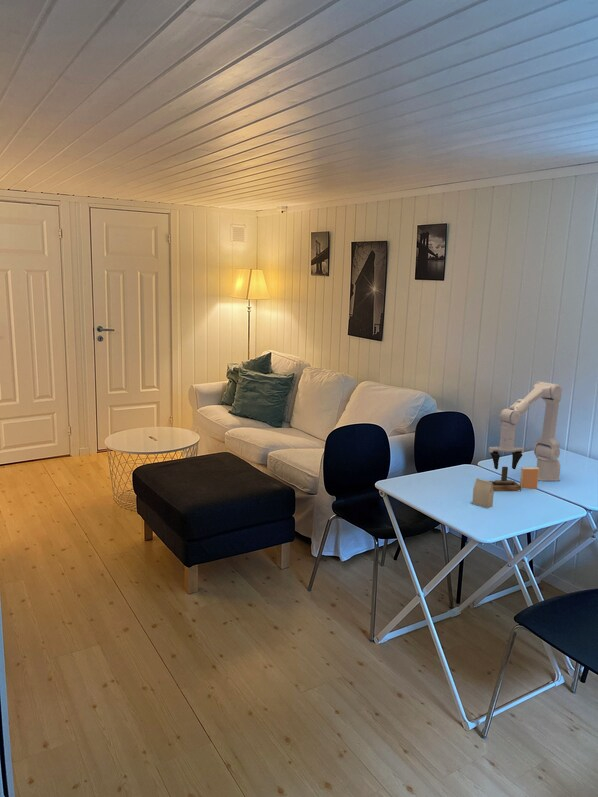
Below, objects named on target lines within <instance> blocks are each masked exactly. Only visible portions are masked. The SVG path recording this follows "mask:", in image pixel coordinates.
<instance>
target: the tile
mask: <svg viewBox="0 0 598 797" xmlns="http://www.w3.org/2000/svg"><path fill="white" fill-rule="evenodd" d="M520 470H521V471H520V478H519V480H520V481H519V485H520V486H521V488H530V489H529V490H537V489H538V482H539V480H538V475H539V468H537V466H536V467H529V466H528V467H526V466H525V467H521V469H520Z"/></svg>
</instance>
